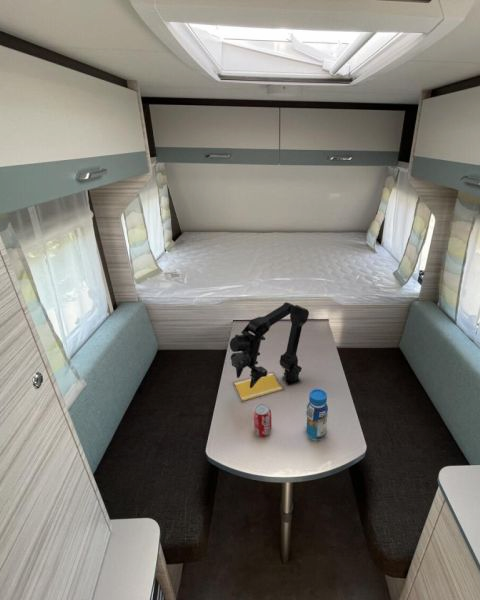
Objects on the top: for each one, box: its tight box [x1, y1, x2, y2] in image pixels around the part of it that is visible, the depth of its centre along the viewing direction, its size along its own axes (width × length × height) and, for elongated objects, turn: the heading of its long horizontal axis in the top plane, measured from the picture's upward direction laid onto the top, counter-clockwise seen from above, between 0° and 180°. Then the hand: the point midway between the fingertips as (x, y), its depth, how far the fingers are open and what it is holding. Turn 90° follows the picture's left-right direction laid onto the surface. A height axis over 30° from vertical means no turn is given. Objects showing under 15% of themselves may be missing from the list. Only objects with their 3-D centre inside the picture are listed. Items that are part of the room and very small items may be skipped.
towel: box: [233, 372, 283, 402], centre depth 159 cm, size 20×14×1 cm
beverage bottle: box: [305, 388, 329, 441], centre depth 128 cm, size 8×8×20 cm
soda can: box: [253, 403, 272, 438], centre depth 131 cm, size 7×7×12 cm
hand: (244, 382), depth 140 cm, fingers open, 9 cm apart
